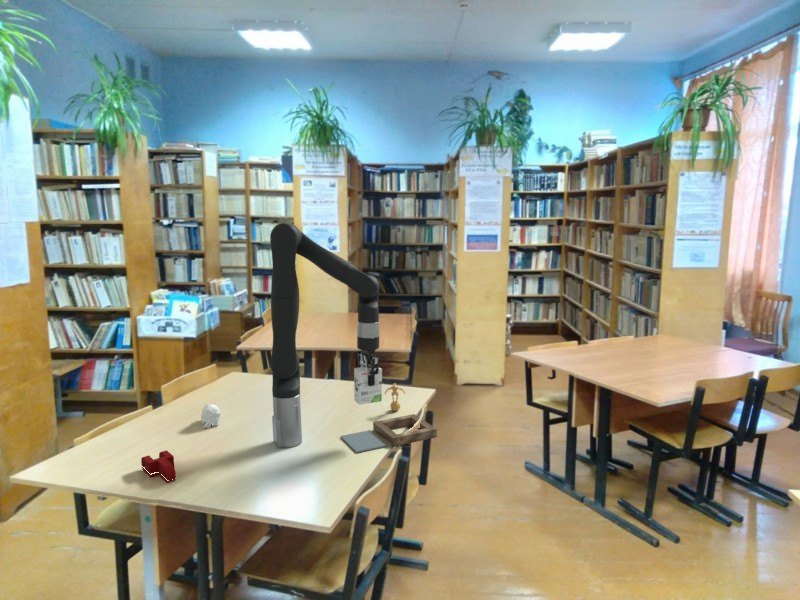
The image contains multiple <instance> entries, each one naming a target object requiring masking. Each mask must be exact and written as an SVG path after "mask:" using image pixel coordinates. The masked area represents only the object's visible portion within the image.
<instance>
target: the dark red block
mask: <svg viewBox="0 0 800 600" xmlns="http://www.w3.org/2000/svg"><path fill="white" fill-rule="evenodd" d="M158 455H159V456H158V458H154V459H153V457H152V456H150V455H145V456H141V459H140V460H141V461H140V464H141V467H142V466H143V467H145V469H146V470H147V471H148V472H149V473H150V474H151V473H154V472H159V473H155V474H152V475H150V474H149V473H148V472H147V471H146V470H145V469H144V468H143V467H142V471H143V472H144V473H145V475H147V476H148V478H149V479H153V478H156V477H160V478H161V479H162V480H163V481H164V482H165V483H166V484H168V483H171V482H175V481H176V479H177V472H176V468H175V458H174V457H175V456H174V455H173V454H172V453H171V452H169V451H168V450H163V451H160V452H159V454H158ZM161 474H162V475H163V476H164V477H165V478H166V479H167V480H169V481H167V480H166V479H165V478H164V477H163V476H162V475H161ZM175 478H176V479H175ZM172 479H173V480H172Z"/></svg>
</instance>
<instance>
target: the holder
mask: <svg viewBox="0 0 800 600" xmlns="http://www.w3.org/2000/svg"><path fill="white" fill-rule="evenodd" d="M419 418H420V417H419V416H418V415H417V414H415V413H413V414H407V415H403V416H397V417H392V418H388V419H383V420H376V421H372V425H373V427H372V430H373V431H374V432H375V433H377V434H378V435H379V436H380V437H381V438H382V439H384V440H385V441H386V442H387V443H389V444H390V445H391V446H392V447H397V446H404V445H407V444H412V443H418V442H420V441H421V442H422V441H426V440H431V439H435V438H438V429H437V427H435V426H434V425H432V424H431V423H428V422H427V421H426V420H424V419H422V421H421V423H420V428H418V429H416V430H412V431H413V432H411V433H410V434H408V435H404V434H405V433H406V432H401V433H397V432H395V431H393V430H394V429H399V428H404V427H409V426H412V427H414V426H413V425H414V424H415V423H416V422H417V421H418V420H419Z"/></svg>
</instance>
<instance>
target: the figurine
mask: <svg viewBox="0 0 800 600" xmlns="http://www.w3.org/2000/svg"><path fill="white" fill-rule="evenodd" d="M390 390H392V392H391V396H392V397H391V399H392V402H391V403H390V410H391V411H394V412H397V411H399V410H400V409H401V404H400V402H399V401H398V399H399V391H398V390H400V391H402V392H403V394H404V395H406V393H405V391H404V389H403V388H401V387H399V386H397V384H396V382H394V383H393V385H392V386H390V387H388V388H387V389H386V390H385V391H384V394H387V392H388V391H390ZM394 396H396V399H395V397H394Z"/></svg>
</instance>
